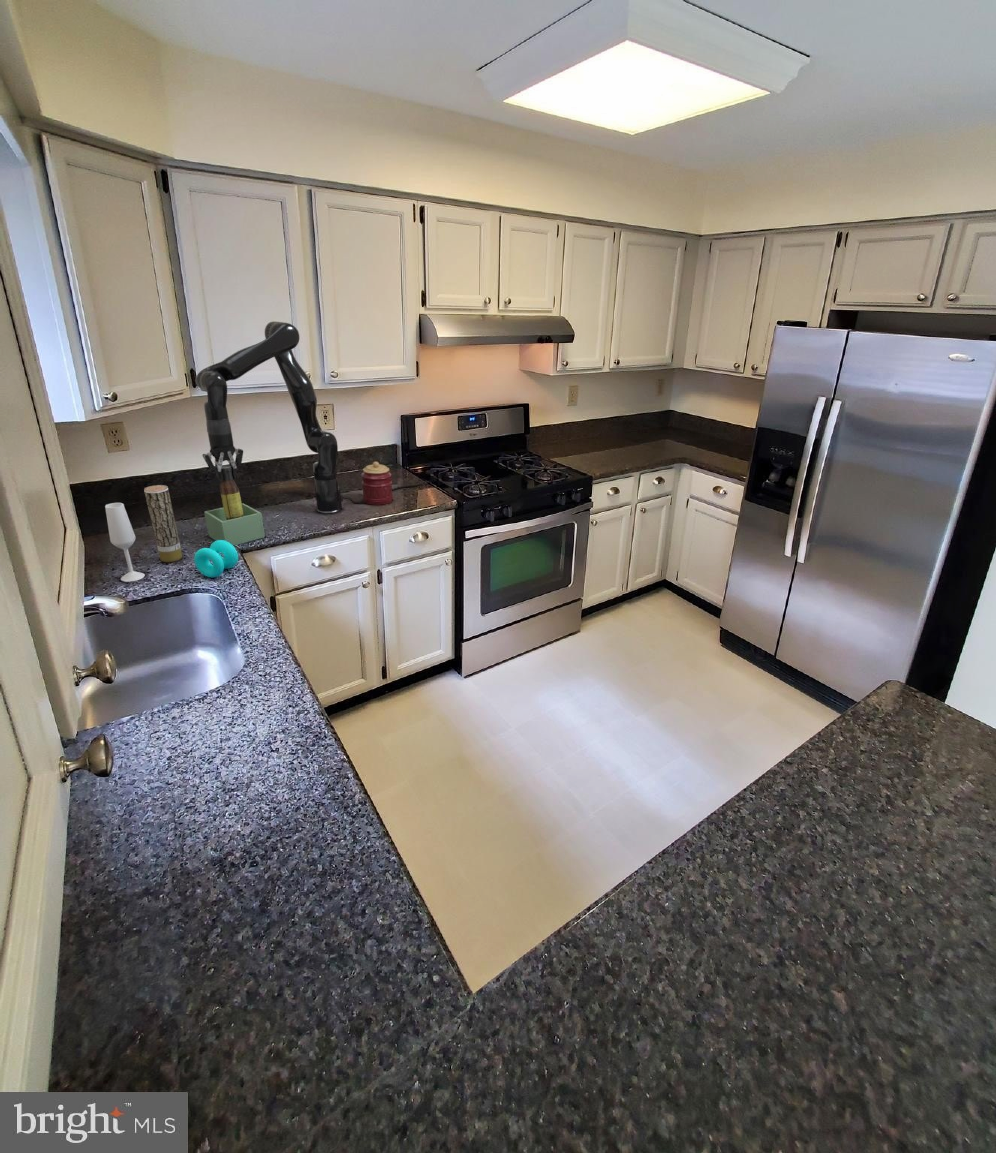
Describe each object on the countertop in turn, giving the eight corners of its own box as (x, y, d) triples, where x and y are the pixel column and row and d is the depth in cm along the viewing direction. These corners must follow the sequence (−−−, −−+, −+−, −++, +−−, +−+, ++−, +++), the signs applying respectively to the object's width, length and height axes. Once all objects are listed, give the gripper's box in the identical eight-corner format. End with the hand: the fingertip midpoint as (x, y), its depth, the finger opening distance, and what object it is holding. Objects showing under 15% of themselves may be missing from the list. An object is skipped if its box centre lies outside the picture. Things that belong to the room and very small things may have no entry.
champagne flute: (119, 575, 190) (100, 504, 180) (143, 570, 194) (125, 500, 183) (122, 583, 185) (102, 510, 175) (146, 578, 189) (128, 506, 179)
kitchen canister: (356, 501, 263) (353, 461, 255) (377, 494, 273) (375, 456, 265) (377, 507, 256) (375, 467, 249) (398, 500, 266) (397, 461, 258)
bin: (246, 526, 231) (243, 503, 227) (264, 537, 223) (261, 513, 218) (208, 535, 222) (204, 511, 218) (226, 547, 213) (221, 522, 209)
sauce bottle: (247, 517, 222) (239, 465, 213) (239, 523, 216) (230, 469, 208) (230, 516, 222) (222, 463, 214) (221, 521, 217) (212, 468, 208)
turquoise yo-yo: (195, 576, 192) (189, 548, 187) (216, 564, 200) (211, 536, 196) (222, 581, 189) (216, 552, 185) (242, 568, 198) (237, 540, 194)
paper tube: (160, 564, 198) (143, 492, 187) (160, 556, 204) (144, 486, 193) (183, 561, 201) (168, 490, 190) (182, 553, 207) (167, 484, 196)
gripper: (203, 436, 198) (212, 486, 206) (244, 430, 208) (251, 478, 215) (193, 432, 203) (203, 481, 210) (234, 427, 212) (242, 473, 220)
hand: (227, 479), depth 213 cm, fingers closed on sauce bottle, 4 cm apart
